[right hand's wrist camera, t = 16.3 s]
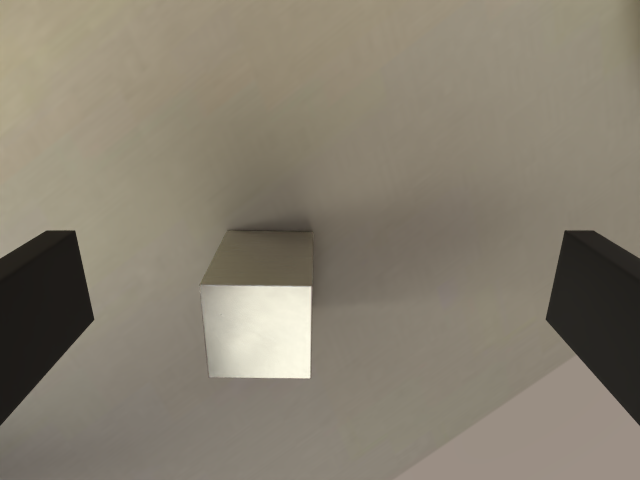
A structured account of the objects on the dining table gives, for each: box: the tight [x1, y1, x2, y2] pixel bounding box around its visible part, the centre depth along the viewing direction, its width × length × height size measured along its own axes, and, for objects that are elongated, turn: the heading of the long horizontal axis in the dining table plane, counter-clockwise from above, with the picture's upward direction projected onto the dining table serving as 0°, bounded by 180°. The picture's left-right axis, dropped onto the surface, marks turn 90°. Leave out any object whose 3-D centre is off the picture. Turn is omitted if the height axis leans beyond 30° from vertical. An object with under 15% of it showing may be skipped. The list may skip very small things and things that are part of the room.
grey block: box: [200, 230, 313, 379], centre depth 31 cm, size 6×7×8 cm
